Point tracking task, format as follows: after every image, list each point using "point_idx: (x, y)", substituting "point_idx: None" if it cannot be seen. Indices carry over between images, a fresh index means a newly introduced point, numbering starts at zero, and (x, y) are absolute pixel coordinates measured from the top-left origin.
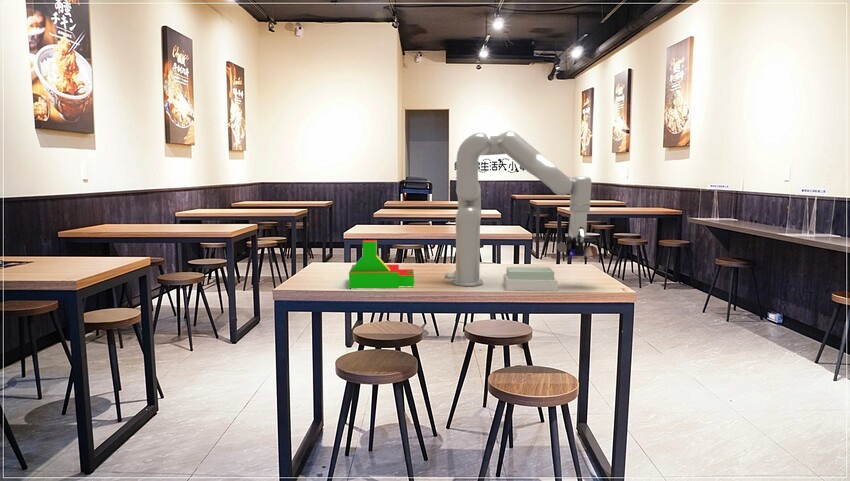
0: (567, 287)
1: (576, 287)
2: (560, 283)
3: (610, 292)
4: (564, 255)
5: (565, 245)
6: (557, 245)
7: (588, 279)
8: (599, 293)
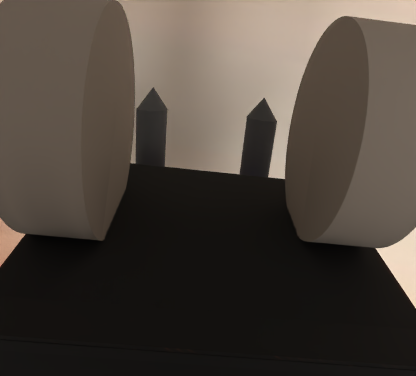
0: (164, 91)
1: (171, 148)
2: (301, 67)
3: None
4: (246, 140)
5: (10, 213)
6: (355, 39)
7: (404, 250)
8: (23, 235)
